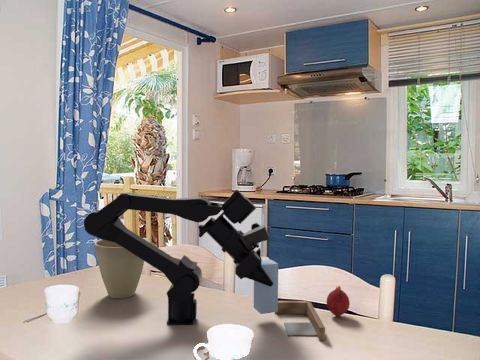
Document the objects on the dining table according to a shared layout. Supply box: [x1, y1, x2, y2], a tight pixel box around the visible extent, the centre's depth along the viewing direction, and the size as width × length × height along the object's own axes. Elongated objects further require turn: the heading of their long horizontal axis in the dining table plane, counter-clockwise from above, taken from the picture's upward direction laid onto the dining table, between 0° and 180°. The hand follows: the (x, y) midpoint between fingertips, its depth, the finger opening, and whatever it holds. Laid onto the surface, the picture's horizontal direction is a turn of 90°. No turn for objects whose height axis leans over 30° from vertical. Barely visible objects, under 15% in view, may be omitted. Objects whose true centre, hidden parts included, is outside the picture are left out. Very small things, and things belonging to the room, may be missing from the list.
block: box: [253, 259, 279, 315], centre depth 100 cm, size 4×4×12 cm
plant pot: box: [94, 237, 148, 299], centre depth 119 cm, size 15×15×16 cm
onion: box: [326, 285, 351, 318], centre depth 104 cm, size 6×6×8 cm
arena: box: [274, 300, 326, 342], centre depth 98 cm, size 9×17×3 cm, turn 1°
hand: (271, 281), depth 100 cm, fingers closed on block, 6 cm apart
